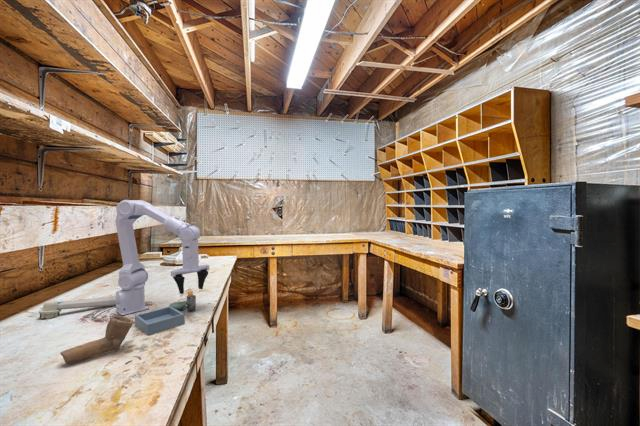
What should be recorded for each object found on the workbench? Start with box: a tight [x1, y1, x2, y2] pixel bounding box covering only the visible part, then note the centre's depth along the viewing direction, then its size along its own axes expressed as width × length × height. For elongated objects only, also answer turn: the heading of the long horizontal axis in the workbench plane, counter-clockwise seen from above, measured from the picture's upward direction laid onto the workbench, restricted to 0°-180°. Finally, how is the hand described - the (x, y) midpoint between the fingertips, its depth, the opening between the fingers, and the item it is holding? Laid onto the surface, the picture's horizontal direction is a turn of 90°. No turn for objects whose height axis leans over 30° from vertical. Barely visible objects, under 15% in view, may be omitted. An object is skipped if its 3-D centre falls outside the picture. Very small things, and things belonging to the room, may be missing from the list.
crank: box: [168, 290, 194, 310], centre depth 119 cm, size 10×6×5 cm, turn 152°
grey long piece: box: [38, 294, 116, 320], centre depth 117 cm, size 5×7×25 cm
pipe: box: [60, 315, 134, 364], centre depth 83 cm, size 6×17×10 cm, turn 132°
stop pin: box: [186, 294, 197, 314], centre depth 116 cm, size 3×3×6 cm
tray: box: [134, 305, 186, 336], centre depth 104 cm, size 12×12×4 cm
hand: (191, 291), depth 116 cm, fingers open, 7 cm apart
